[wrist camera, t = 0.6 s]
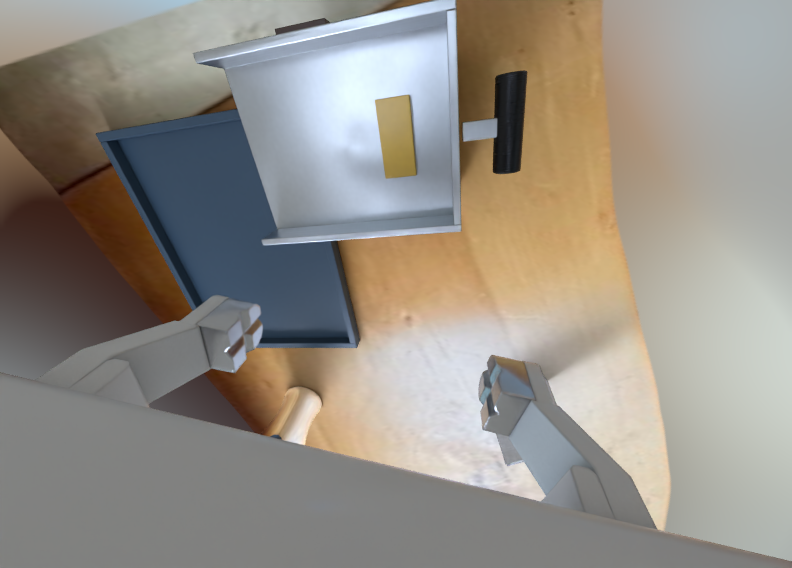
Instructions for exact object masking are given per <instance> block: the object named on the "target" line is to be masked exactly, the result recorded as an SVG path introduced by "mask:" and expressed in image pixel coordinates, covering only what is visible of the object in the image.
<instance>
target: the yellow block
mask: <svg viewBox="0 0 792 568" xmlns="http://www.w3.org/2000/svg"><path fill="white" fill-rule="evenodd" d="M375 106H376V113H377V121H378V128H379V135H380V142H381V149H382V157H383V164H384V171H385V178H386V179H390V178H399V177H408V176H416V175H417V168H416V157H415V146H414V135H413V123H412V112H411V101H410V95H402V96H396V97H389V98H383V99H377V100H375Z"/></svg>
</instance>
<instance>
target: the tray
mask: <svg viewBox="0 0 792 568" xmlns="http://www.w3.org/2000/svg"><path fill="white" fill-rule="evenodd" d="M96 136H97V137H98V139H99V141H100V142H101V145H102V147H103V148H104V150H105V152H106V154H107V156H108V157H109V159H110V161H111V163H112V165H113V166H114V168H115V170H116V172H117V174H118V176H119V177H120V179H121V181H122V183H123V185H124V186H125V188H126V190H127V192H128V194H129V196H130V197H131V199H132V201H133V203H134V205H135V206H136V208H137V210H138V212H139V214H140V215H141V217H142V219H143V221H144V223H145V225H146V226H147V228H148V230H149V232H150V234H151V235H152V237H153V239H154V241H155V243H156V245H157V246H158V248H159V250H160V252H161V254H162V255H163V257H164V259H165V261H166V263H167V264H168V266H169V268H170V270H171V272H172V274H173V275H174V277H175V279H176V281H177V283H178V284H179V286H180V288H181V290H182V292H183V294H184V295H185V297H186V299H187V301H188V303H189V304H190V306H191V308H192V310H193V311H194V310H195V309H196V308H198V307H199V306H200V305H201V304H203V303H204V302H205V301H206V300H208V299H209V298H210V297H212V296H214V295H220V296H224V297H229V298H234V299H238V300H242V301H246V302H251V303H255V304H258V305H259V306H260V309H261V315H260V316H259V317H258V319H259V320H260V321H261V323H262V325H263V332H262V337H261V339H260V342H259V344H258V345H257V346H256V348H357V347H358V344H359V342H360V337H359V333H358V329H357V325H356V321H355V316H354V312H353V308H352V304H351V299H350V295H349V291H348V287H347V283H346V278H345V274H344V270H343V266H342V262H341V257H340V253H339V249H338V245H337V241H336V240H332V241H318V242H304V243H290V244H276V245H263V243H262V239H263V238H265V237H266V236H267V235H269V234H270V233H272V232H273V231H275V230H276V229H277V226H276V223H275V220H274V217H273V214H272V211H271V208H270V205H269V202H268V199H267V196H266V193H265V190H264V187H263V184H262V181H261V178H260V175H259V172H258V169H257V166H256V163H255V160H254V157H253V154H252V151H251V148H250V145H249V142H248V139H247V136H246V133H245V130H244V127H243V124H242V121H241V118H240V115H239V112H238V109H234V110H228V111H222V112H216V113H210V114H204V115H199V116H193V117H187V118H181V119H175V120H170V121H164V122H158V123H152V124H146V125H141V126H135V127H129V128H123V129H117V130H112V131H106V132H100V133H96Z"/></svg>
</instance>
